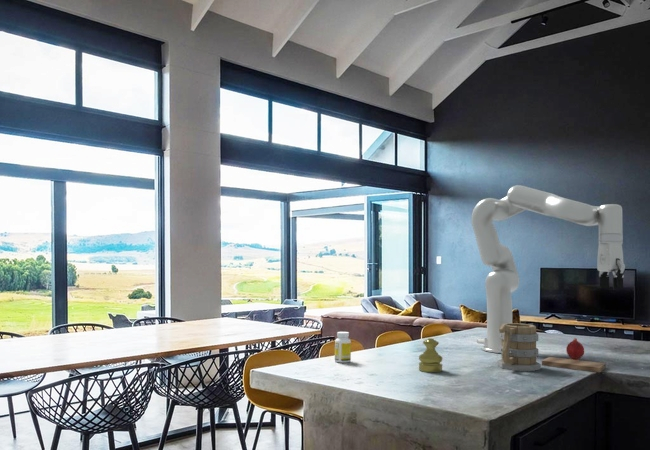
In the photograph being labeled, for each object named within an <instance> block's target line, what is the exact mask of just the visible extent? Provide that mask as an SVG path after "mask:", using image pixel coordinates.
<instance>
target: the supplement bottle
mask: <svg viewBox="0 0 650 450" xmlns="http://www.w3.org/2000/svg"><path fill="white" fill-rule="evenodd" d="M349 336H350V332H349V331H337V332H336V339H335V340H334V362H336V363H338V364H339V363H341V364H343V363H345V364H348V363H350V362H351V359H352V358H351V357H352V356H351V355H352V354H351V353H352V340H351V339H350V338H349Z"/></svg>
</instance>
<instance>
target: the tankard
mask: <svg viewBox="0 0 650 450" xmlns="http://www.w3.org/2000/svg"><path fill="white" fill-rule="evenodd" d="M499 331H500V338H501V339H502V345H501V346H500V353H499V354H501V358H500V359H498V360H497V363H496V364H497V366H498V367H500V368H501V369H503V370H509V371H516V372H535V370H536V371H539V370H541V368H542V363H539V362H537V357H538V356H539V348H537V342H539V333H537V326H536V325H534V324H527V323H517V322H514V323H513V322H512V323H505V324H502V326H501V327H500V328H499Z"/></svg>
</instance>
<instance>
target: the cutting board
mask: <svg viewBox="0 0 650 450" xmlns="http://www.w3.org/2000/svg"><path fill="white" fill-rule="evenodd" d="M541 366H547V367H553V368H560V369H563V368H564V369H568V370H569V369H571V370H577V371H586V372H594V373H601V372H603V371H604V370H605V369H607V363H605V362H597V361H587V360H580V359H578V360H573V359H572V358H564V357H563V358H561V357H554V356H548V357H546V358H545V359H544V358H543V360H541Z"/></svg>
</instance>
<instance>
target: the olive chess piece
mask: <svg viewBox="0 0 650 450" xmlns="http://www.w3.org/2000/svg"><path fill="white" fill-rule="evenodd" d="M422 344H423V345H424V346H425V348H426V349H425V350H424V351H423V352H422V353H421V354H419V356H418V360H419V361H420V362H418V369H419V371H420V372H424V373H432V374H434V373H435V374H436V373H441V372H442V371H443V364H442V362H443V356H442V355H441V354H439V352H438V351H437V350H436V347H437V346H439V344H440V343H439V341H437V340H436V339H435V338H432V337H429V338H427V339H425V340H423V341H422Z"/></svg>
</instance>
